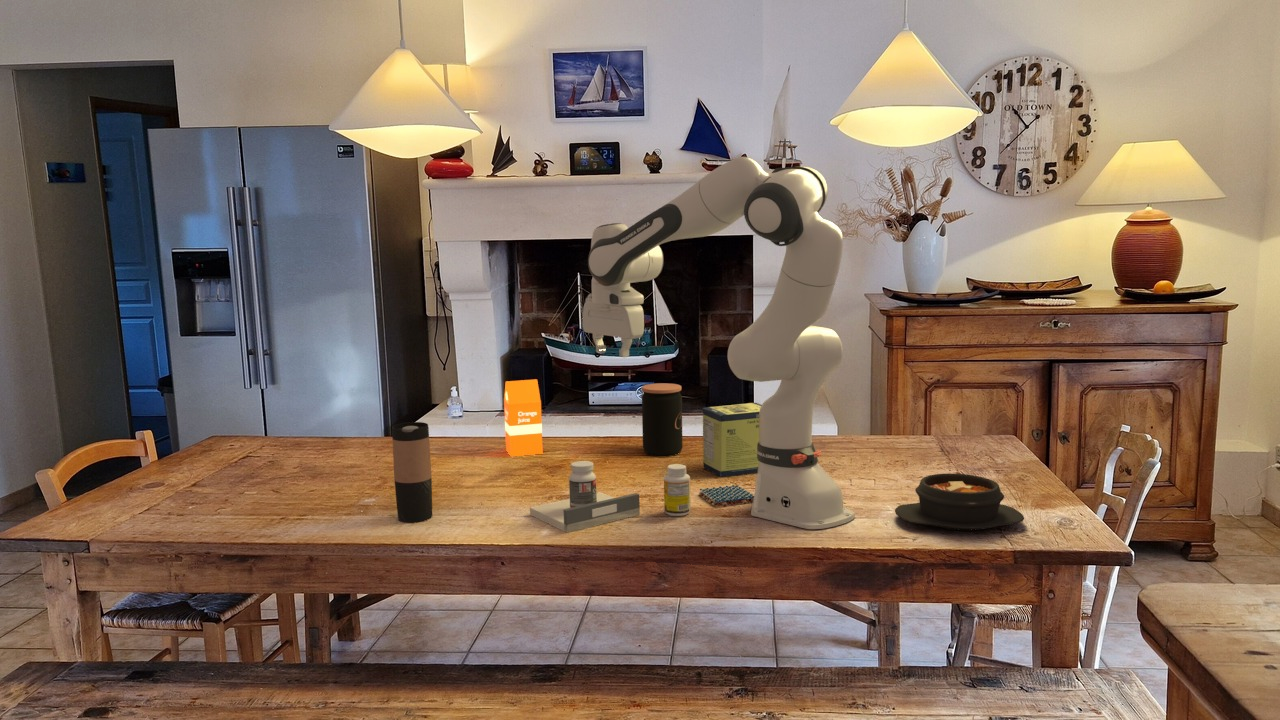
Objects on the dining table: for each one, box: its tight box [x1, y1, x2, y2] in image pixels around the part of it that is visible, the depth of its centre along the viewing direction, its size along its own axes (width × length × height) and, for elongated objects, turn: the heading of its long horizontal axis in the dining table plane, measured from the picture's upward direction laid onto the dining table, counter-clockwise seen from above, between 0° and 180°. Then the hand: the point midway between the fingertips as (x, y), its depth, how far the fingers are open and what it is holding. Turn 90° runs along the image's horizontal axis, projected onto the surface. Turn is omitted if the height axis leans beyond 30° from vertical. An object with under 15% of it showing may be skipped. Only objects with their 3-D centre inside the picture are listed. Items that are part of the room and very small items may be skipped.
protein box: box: [702, 402, 762, 478], centre depth 231 cm, size 10×16×16 cm
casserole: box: [894, 473, 1025, 532], centre depth 188 cm, size 25×19×8 cm
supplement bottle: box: [663, 463, 691, 517], centre depth 197 cm, size 6×6×10 cm
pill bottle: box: [568, 460, 597, 508], centre depth 195 cm, size 6×6×10 cm
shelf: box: [529, 491, 641, 533], centre depth 197 cm, size 15×18×4 cm
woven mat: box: [698, 484, 754, 508], centre depth 207 cm, size 10×11×2 cm
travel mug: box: [391, 421, 433, 524], centre depth 196 cm, size 8×8×20 cm
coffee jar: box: [641, 382, 683, 457], centre depth 249 cm, size 11×11×18 cm
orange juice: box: [503, 378, 544, 457], centre depth 251 cm, size 8×9×20 cm
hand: (612, 354), depth 215 cm, fingers open, 8 cm apart
